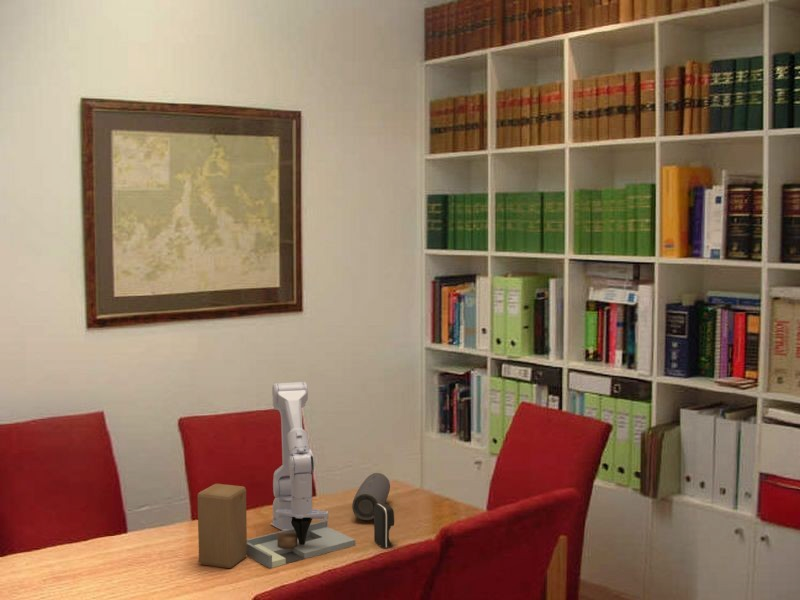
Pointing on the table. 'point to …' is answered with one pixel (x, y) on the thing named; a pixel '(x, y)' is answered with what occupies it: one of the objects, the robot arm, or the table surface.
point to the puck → (287, 540)
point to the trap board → (316, 544)
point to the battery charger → (383, 524)
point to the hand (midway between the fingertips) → (302, 543)
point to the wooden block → (222, 525)
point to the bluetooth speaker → (370, 495)
